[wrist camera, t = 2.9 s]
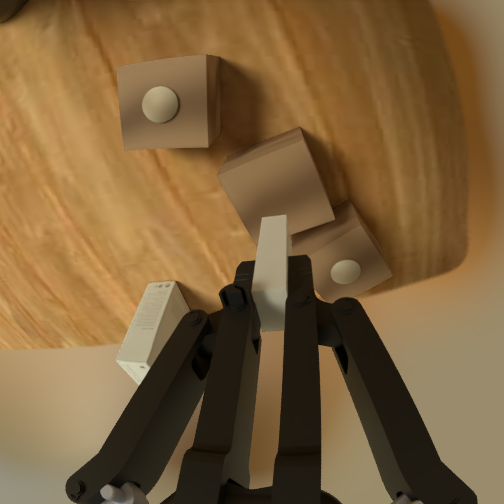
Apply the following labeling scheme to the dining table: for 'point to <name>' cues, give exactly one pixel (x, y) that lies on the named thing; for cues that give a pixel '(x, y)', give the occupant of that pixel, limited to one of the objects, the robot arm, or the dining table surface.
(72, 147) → the dining table surface
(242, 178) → the plain walnut block
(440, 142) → the dining table surface
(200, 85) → the dotted walnut block
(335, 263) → the dotted walnut block
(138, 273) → the dining table surface
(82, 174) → the dining table surface
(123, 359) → the skincare box
